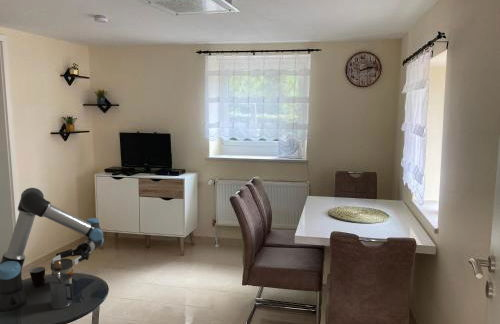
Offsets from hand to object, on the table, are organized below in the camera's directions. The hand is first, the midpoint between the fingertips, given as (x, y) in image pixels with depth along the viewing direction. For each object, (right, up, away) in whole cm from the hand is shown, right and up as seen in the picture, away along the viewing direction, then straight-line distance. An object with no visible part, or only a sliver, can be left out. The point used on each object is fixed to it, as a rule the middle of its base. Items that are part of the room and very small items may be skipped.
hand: (63, 262), depth 232 cm
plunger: (-1, -20, -1) cm, 20 cm away
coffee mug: (-26, -20, +27) cm, 43 cm away
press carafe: (0, -24, -1) cm, 24 cm away
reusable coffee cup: (-10, -20, +24) cm, 33 cm away
